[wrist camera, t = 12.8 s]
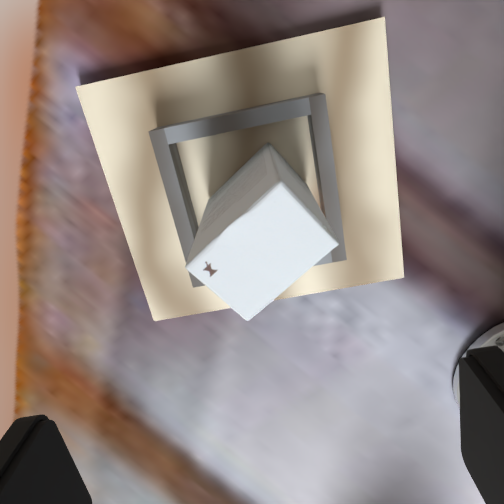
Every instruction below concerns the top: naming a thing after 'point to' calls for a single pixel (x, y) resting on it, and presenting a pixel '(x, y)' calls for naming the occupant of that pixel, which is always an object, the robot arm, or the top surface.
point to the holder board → (246, 146)
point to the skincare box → (259, 234)
